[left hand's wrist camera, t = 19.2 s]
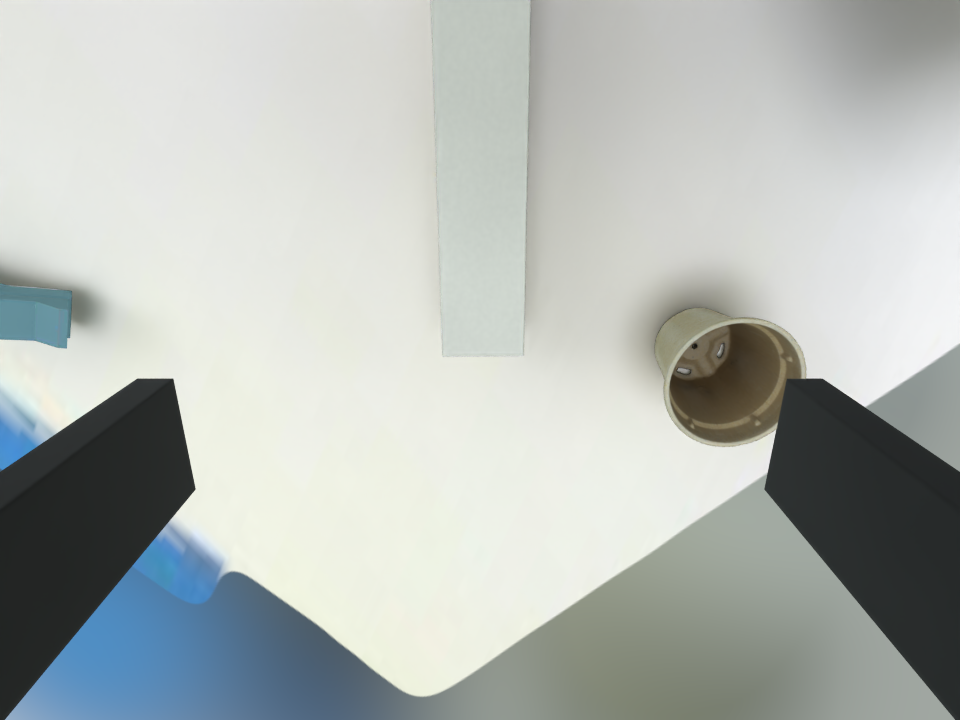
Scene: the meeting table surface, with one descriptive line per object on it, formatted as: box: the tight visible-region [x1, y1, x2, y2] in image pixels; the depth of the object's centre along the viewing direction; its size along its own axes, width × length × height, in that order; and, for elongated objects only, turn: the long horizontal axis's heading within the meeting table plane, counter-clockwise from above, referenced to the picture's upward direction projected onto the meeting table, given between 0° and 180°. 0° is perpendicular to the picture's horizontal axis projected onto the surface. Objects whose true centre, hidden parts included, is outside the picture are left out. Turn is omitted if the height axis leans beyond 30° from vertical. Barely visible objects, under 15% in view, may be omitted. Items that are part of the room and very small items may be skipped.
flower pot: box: [655, 308, 806, 447], centre depth 43 cm, size 9×9×9 cm
